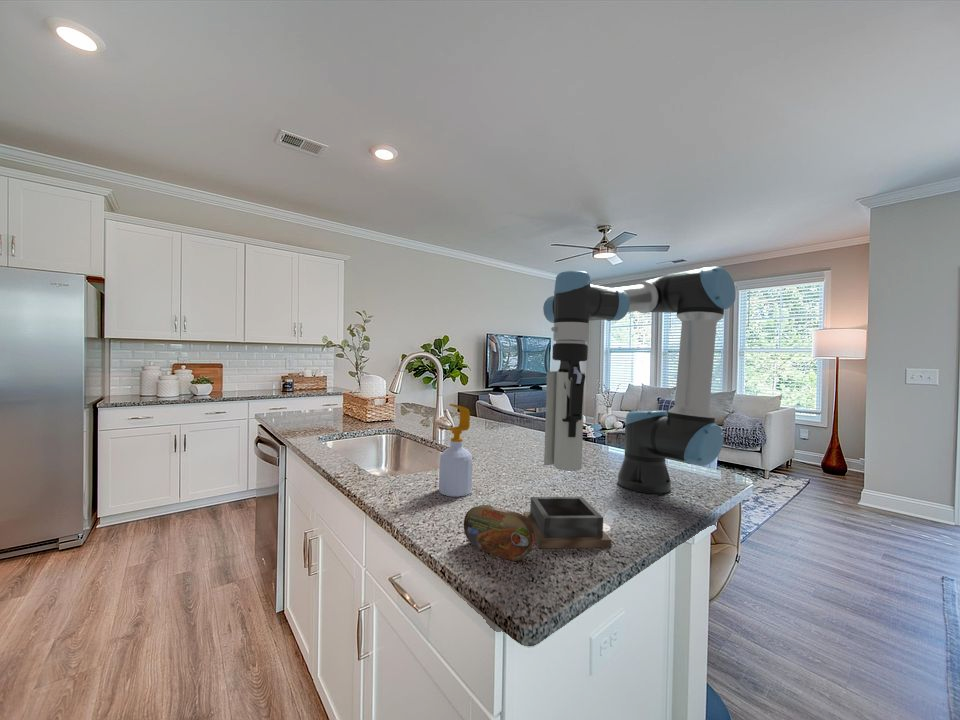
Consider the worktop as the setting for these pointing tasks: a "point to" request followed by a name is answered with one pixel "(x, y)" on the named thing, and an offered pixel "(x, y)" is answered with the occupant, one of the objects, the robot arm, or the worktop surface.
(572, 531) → the open box on board
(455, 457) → the soap bottle
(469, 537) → the tin
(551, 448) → the paper towel roll
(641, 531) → the worktop surface
